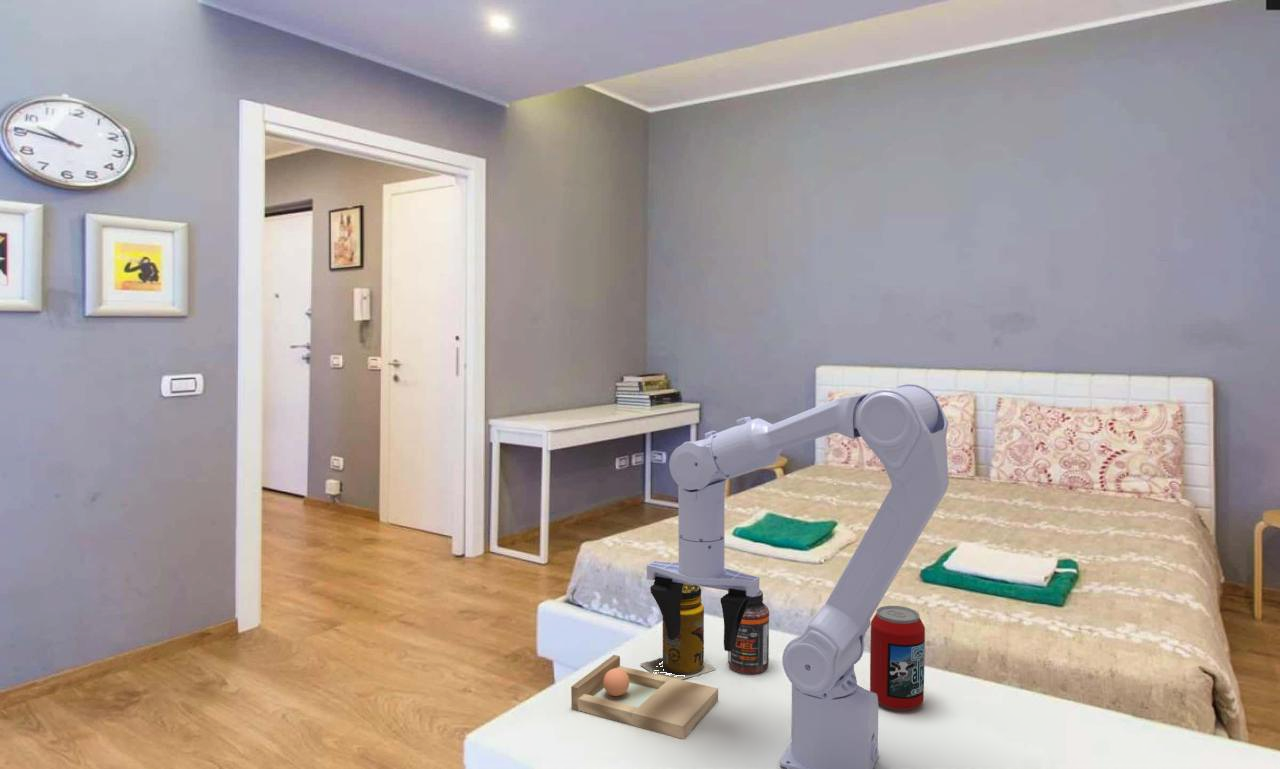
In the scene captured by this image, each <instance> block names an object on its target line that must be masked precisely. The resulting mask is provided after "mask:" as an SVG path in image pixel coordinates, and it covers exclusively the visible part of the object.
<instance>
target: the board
mask: <svg viewBox="0 0 1280 769" xmlns="http://www.w3.org/2000/svg"><path fill="white" fill-rule="evenodd" d="M614 668H619V669H622V670H623V671H625V672H626V673H627V675H628V677H629V687H628V689H627V691H626V692H625V693H624V694H622V695H620V696H612V695H610V694H608V693H607V692H606V690H605V688H604V685H603V680H604V677H605V675H606V673H607V672H608V671H609V670H611V669H614ZM570 693H571V699H570V700H571V710H574V711H578V712H581V711H582V713H585V712H586V714H589V713H590V714H589V715H592V714H593V716H596V717H600V718H604V719H607V720H611V719H612V720H611V721H614V722H615V721H616V722H618V721H619V722H618V723H622V722H623V723H622V724H626V725H631V726H632V727H633V726H634V727H638V728H640V729H641V728H642V729H644V730H648V731H652V732H656V733H659V734H663V735H667V736H671V737H675V738H678V739H682V740H684V739H685V738H686V737H687V736H688V734H689V733H690V732H692V730H693V729H694V728H695V727H696V726H697V724H698V723H699V722H700V721H701V720H702V719H703V717H704V716H705V715H706V714H707V713H708V712H709V711H710V710H711V709H712V708H713V706H714V705H715V704H716V703H717V702H718V701H719V688H717V687H713V686H710V685H704V684H701V683H696V682H692V681H687V680H685V679H682V680H680V679H675V678H671V677H667V676H662V675H658V674H654V673H651V672H650V671H644V670H639V669H636V668H632V667H628V666H627V667H626V666H622V665H621V656H620V655H617V654H613V655H612V656H610V657H609V658H608V659H606V660H605V661H604V662H602V663H601V664H599V665H598V666H597V667H595V668H594V669H592V670H591V671H590V672H589V673H588V674H586V675H585V676H583V677H582V678H581V679H579V680H578V681H577V682H575V683H574V684H573V685H572V686H571V691H570Z"/></svg>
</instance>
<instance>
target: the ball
mask: <svg viewBox="0 0 1280 769" xmlns="http://www.w3.org/2000/svg"><path fill="white" fill-rule="evenodd" d="M603 685H604V688H605V690H606V692H607V693H608V694H610V695H612V696H620V695H622V694H624V693H625V692H626V691H627V689H628V687H629V677H628V675H627V673H626V672H625V671H623V670H622V669H619V668H614V669H611V670H609V671H608V672H607V673H606V675H605V677H604V680H603Z"/></svg>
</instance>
